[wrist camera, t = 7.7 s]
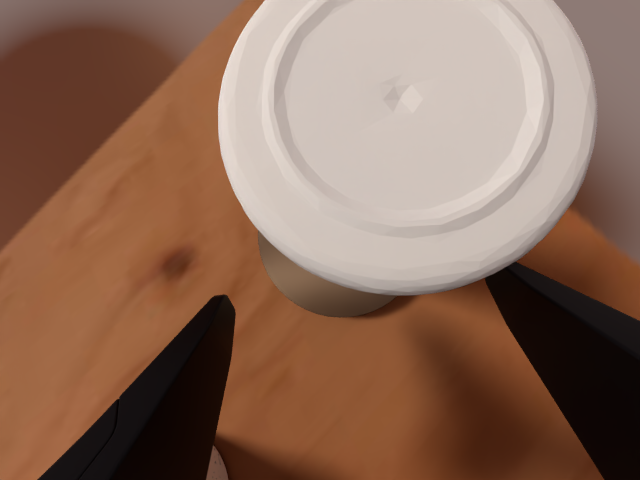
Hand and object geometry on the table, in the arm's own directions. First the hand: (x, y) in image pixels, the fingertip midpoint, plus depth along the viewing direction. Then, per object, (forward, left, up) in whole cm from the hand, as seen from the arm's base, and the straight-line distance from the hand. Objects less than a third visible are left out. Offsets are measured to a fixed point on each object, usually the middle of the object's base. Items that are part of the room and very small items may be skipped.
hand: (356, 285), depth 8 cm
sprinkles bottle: (+3, -1, -8) cm, 8 cm away
